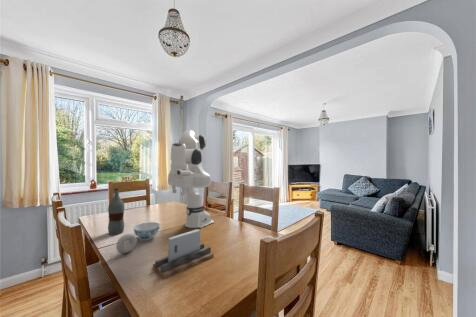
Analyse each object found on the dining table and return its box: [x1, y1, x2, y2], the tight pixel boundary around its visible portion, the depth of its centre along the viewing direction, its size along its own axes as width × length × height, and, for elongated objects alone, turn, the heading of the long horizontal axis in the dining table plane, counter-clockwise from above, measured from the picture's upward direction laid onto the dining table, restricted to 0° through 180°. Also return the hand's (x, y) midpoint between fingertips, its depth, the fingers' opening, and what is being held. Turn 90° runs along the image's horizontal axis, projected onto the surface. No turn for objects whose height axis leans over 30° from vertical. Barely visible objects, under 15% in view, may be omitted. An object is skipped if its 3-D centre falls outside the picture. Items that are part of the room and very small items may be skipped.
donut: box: [115, 233, 138, 255], centre depth 104 cm, size 10×4×10 cm, turn 142°
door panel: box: [167, 228, 201, 262], centre depth 95 cm, size 16×3×12 cm, turn 136°
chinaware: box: [133, 221, 161, 241], centre depth 123 cm, size 15×15×8 cm
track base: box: [152, 242, 214, 279], centre depth 95 cm, size 26×12×4 cm, turn 136°
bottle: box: [107, 187, 125, 236], centre depth 132 cm, size 9×9×30 cm
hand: (178, 194), depth 115 cm, fingers open, 8 cm apart
